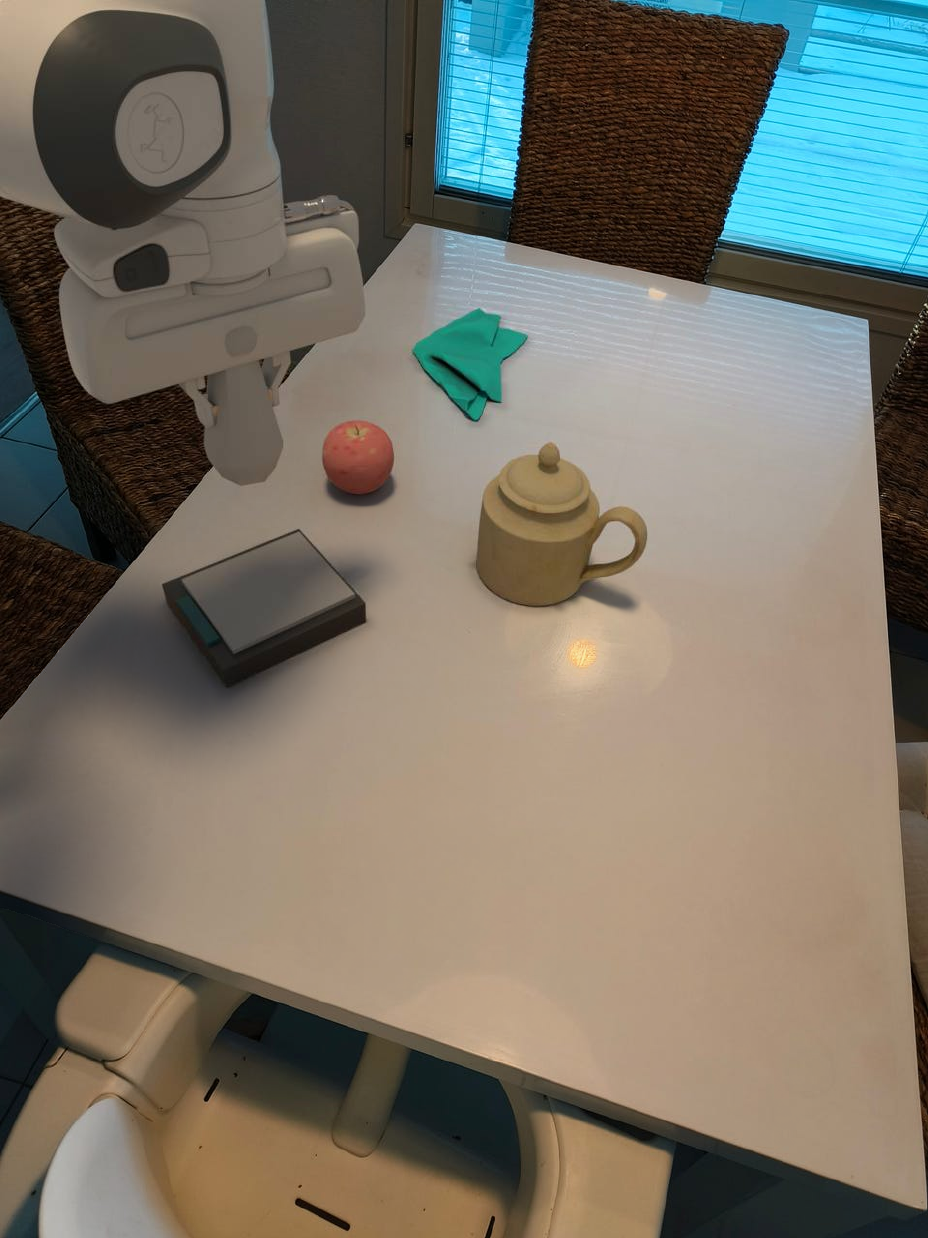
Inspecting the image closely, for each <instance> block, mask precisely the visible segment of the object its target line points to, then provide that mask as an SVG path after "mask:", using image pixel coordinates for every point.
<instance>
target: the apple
mask: <svg viewBox="0 0 928 1238" xmlns="http://www.w3.org/2000/svg"><path fill="white" fill-rule="evenodd" d="M321 450H322V451H321V455H322V456H321V460H322V466H323V469H324V472H325V474H326V477H327V478H328V479H329V481H330V482H331V483H333V484H334V486H336V487H337V488H338V489H340V490H342V491H344V492H346V493H349V494H353V495H365V494H369V493H371V492H374V491H376V490H377V489H379V488H380V487H381V486H382V485H384V484H385V483H386V481H387V480H388V478H389V477H390V475H391V473H392V470H393V467H394V462H395V453H394V445H393V442H392V440H391V438H390V436H389V434H388V433H387V432H386V431H385V430H384V429H383V428H382V427H380V426H379V425H376V423H375V424H374V423H373V422H369V421H366V420H357V419H356V420H348V421H345V422H342V423H340V424H338V425H336V426H334V427H333V428H332V429H331V430H330V431H329V432H328V434H327V435H326V437H325V438H324V440H323V444H322V449H321Z"/></svg>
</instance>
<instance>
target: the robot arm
mask: <svg viewBox="0 0 928 1238" xmlns="http://www.w3.org/2000/svg"><path fill="white" fill-rule="evenodd" d="M270 35H271V34H270V26H269V20H268V11H267V4H266V0H0V198H3V199H6V200H10V201H13V202H15V203H18V204H21V205H25V206H27V207H31V208H35V209H38V210H41V211H44V212H46V213H50V214H53V215H56V216H59V217H62V219H61V220H59V222H57V224H56V225H55V227H54V229H53V233H54V239H55V243H56V246H57V248H58V250H59V252H60V254H61V256H62V257H63V259H64V261H65V263H66V264H67V265H68V269H66V271H65V273H64V274H63V276H62V278H61V281H60V283H59V288H58V289H59V290H58V302H59V303H58V304H59V313H60V320H61V325H62V332H63V338H64V343H65V346H66V352H67V355H68V360H69V363H70V366H71V369H72V372H73V374H74V376H75V377H76V379H77V381H78V382H79V384H80V385H81V386H82V387H83V389H84V390H85V391H86V393H88V394H89V395H90V396H91V397H93V398H94V399H96V400H98V401H100V402H101V403H103V404H106V405H112V404H115V403H118V402H122V401H124V400H129V399H131V398H135V397H139V396H141V395H145V394H148V393H152V392H156V391H158V390H163V389H165V388H168V387H172V386H175V385H178V386H179V387H180V388H181V389H182V390H183V391H184V392H185V393H186V395H188V396H189V398H191V400H193V402H194V407H195V413H196V417H197V418H198V420H199V422H200V423H201V424H202V426H203V427H204V428H205V427H206V428H210V427H213V426H215V425H216V424H217V414H218V405H216V404H215V403H213V402H212V401H210V400H208V395H207V392H206V393H202V392H201V391H199V390H203V389H205V388H206V380H205V377H206V376H208V375H210V374H213V373H217V372H220V371H223V370H227V369H230V368H234V367H237V366H240V365H244V364H247V363H251V362H254V361H257V360H259V361H260V360H263V362H262V365H261V370H262V373H263V376H264V380H265V383H266V386H267V390H268V393H269V396H270V399H271V403H272V406H273V408H274V407H277V406H280V403H281V402H280V392H279V387H280V386H281V384H282V382H283V379H284V377H285V376H286V374H287V371H288V369H289V367H290V366H291V363H292V362H291V351H294V350H298V349H301V348H304V347H308V346H311V345H315V344H318V343H321V342H325V341H328V340H333V339H335V338H339V337H342V336H346V335H349V334H352V333H355V332H356V331H358V329H359V328H360V326H361V325H362V323H363V321H364V319H365V317H366V297H365V287H364V280H363V275H362V268H361V263H360V259H359V255H358V248H359V243H360V230H359V229H360V227H359V225H360V224H359V223H360V222H359V216H358V214H357V212H356V210H355V208H354V207H353V205H352V204H350V203H349V202H348V201H346V200H343V199H342V200H341V199H339V197H338V195H334V194H328V195H321V196H319V197H316V198H315V199H310V200H298V201H292V202H288V203H284V193H283V180H282V167H281V160H280V157H279V154H278V150H277V148H276V145H275V142H274V139H273V134H272V129H271V127H272V126H271V111H272V104H273V98H274V91H275V81H274V67H273V66H274V65H273V54H272V45H271V37H270ZM241 326H249V327H253V329H254V331H255V332H256V334H257V345H256V347H255V348H254V350H253V351H251V352H250V353H248V354H244V355H240V356H236V357H232V356H230V355H229V354H228V353H227V350H226V348H225V345H224V344H225V338H226V334H227V333H228V332H229V331H231V330H232V329H235V328H238V327H241Z"/></svg>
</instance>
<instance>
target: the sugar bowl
mask: <svg viewBox="0 0 928 1238" xmlns="http://www.w3.org/2000/svg"><path fill="white" fill-rule="evenodd" d="M600 511H601V509H600V502H599V500H598V497H597V496H596V494H595V492H594V491H593V490H592V489H591V485H590V480H589V479H588V477H587V475H586V473H584V471H583V469H581V468H580V467H578V466H577V465H576V464H574V463H572V462H570V461H568V460H566V459H563V458H561V454H560V449H559V448H558V446H557V445H556V443H554V442H552V441H551V442H550V441H549V442H547V443H545V444H544V445H543V446H541V447H540V449H539V452H538V454H526V455H521V456H519V457H517V458H514V459H511V460H509V461H508V462H507V463H506V464H505V465H504V466H503V467H502V468H501V470H500V471H499V474H498V475H496V476H495V477H493V478H492V479H491V480H490V481H489V482H488V484H487V485H486V487H485V489H484V491H483V494H482V501H481V508H480V515H479V523H478V533H477V535H478V536H477V548H476V549H477V550H476V560H475V561H476V563H475V564H476V570H477V573H478V575H479V577H480V580H481V581H482V582H483V583H484V585H485V586H486V587H487V588H488V589H489V590H490V591H492V592H493V593H494V594H496V596H499V597H501V598H502V599H505V600H506V601H507V600H508V602H509V601H510V602H512V603H516V604H520V605H525V606H531V607H532V606H533V607H539V606H542V607H543V606H549V605H554V604H558V603H561V602H563V601H565V600H567V599H569V598H570V597H572V596H573V595H575V594H576V593H577V592H578V590H579V589H580V588H581V586H582V585H583V583H585V582H586V581H590V580H595V579H602V578H608V577H613V576H615V575H619V574H621V573H623V572H625V571H627V570H628V569H630V568H632V566H635V564H636V563H637V562H638V561H639V560H640V558H641V557H642V555H643V553H644V551H645V549H646V546H647V541H648V528H647V525H646V523H645V521H644V519H643V517H642V516H641V515H640V514H639V513H638V512H637V511H636V510H634V509H633V508H630V507H628V506H621V505H619V506H614V507H612V508H609V509H608V510H607V511H605V512H603V513H602V514H601V515H600ZM611 522H618V523H619V522H620V523H622V524H623V525H625V526H626V527H627V528H628V529H630V531H631V533H632V536H633V537H634V546H633V548H632V550H631V552H630V553H628V555H626V556H624V557H623V558H620V559H618V560H615V561H611V562H605V563H593V564H589V562H590V558H591V554H592V550H593V546H594V544H595V543H596V542H597V541H598V539H599V538H600V536H601V535H602V532H603V531H604V529H605V528H606V526H607V524H608V523H611Z"/></svg>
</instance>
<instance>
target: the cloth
mask: <svg viewBox="0 0 928 1238" xmlns="http://www.w3.org/2000/svg"><path fill="white" fill-rule="evenodd" d="M500 320H501V315H500V314H496V313H486V312H485V311H484V310H482V308H480V307H478V308H476V309H474V310H472V311H470V312H467V313H466V314H465V315H463V316H461V317H458V318H456V319H453V320H452V321H450V322H449V323H448V324H446V325H445V326H442V327H439V328H438V329H435V330H434V331H433V332H432V333H431V334H429V335H428V336H426V337H424V338H422V339H421V340H418V341H417V342H416V343H415V345H414V346H413V348H412V352H413V354H414V355H415V357H416V358H417V360H418V362H419V363H420V366H421V367H422V368H423V369H424V370H425V371H426V373H428V374H429V376H431V378H433V380H434V381H436V383H437V384H438V385H440V386H441V388H443V389H445V391H446V393H447V394H448V397H450V398H451V399H452V400H453V401H454V402H455V403H456V404H457V405H458V406H459V407H460V409H461V410H463V411H464V412H465V413H466V414H467V416H469V417H470V418H471V419H472V420H473V421H479V419H480V417H481V416H482V414H483V412H484V408H485V405H486V403H487V399H488V398H489V399H490V400H492V401H495V402H497V403H503V402H502V365H501V363H502V362H503V360H504V359H506V358H508V357H510V356H511V355H513V354H514V353H515V352H516V351H517V350H518V349H519V348H520V347H521V346H522V345H523V344H524V343H525V341H526V340H527V338H528V337H529V335H528V334H526V333H524V332H520V331H517V330H513V329H510V328H504V327H499V324H500Z"/></svg>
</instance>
